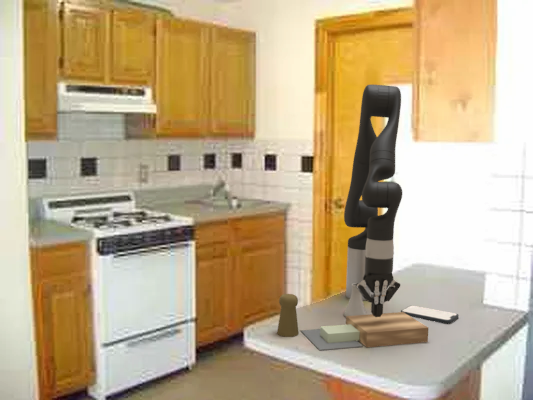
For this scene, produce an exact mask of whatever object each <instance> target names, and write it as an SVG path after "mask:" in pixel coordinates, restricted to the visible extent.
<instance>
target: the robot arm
mask: <svg viewBox="0 0 533 400" xmlns="http://www.w3.org/2000/svg"><path fill="white" fill-rule="evenodd" d="M401 104H402V92H401V89H400V88H399V87H397V86H393V85H384V84H383V85H382V84H367V85H365V88H364V89H363V92H362V97H361V106H360V114H359V115H360V117H359V126H358V127H359V128H358V133H357V134H358V135H357V140H356V146H355V150H354V156H353V164H352V171H351V179H350V185H349V189H348V193H347V198H346V201H345V207H344V213H343V220H344V224H345V225H346V226H347V227H349V228H358V229H359V228H360V229H361V228H364V229H363V231H362V232H360V233H358V234H356V235H353V236H350V237H349V238H348V240H347V255H346V257H347V259H346V266H347V267H346V284H345V286H346V287H345V288H346V291H345V296H346V298H349V299H350V298H351V294H352V284H353V283H357V284H356V287H357V289H358V290H359V292H360V293H361V296H362V300H363V301H367V302H368V303H371V305H370V307H371V308H370V310H371V311H370V313H371V314H373V316H375V317H381V315H382V313H384V304H385V303H386V302H390V301H391V299H392V298H393V297H394V295H395V294H396V293H397V291H398V290H399V289H400V288H401V283H400V282H398V281H396V280H394V276H393V272H394V271H393V270H394V255H395V251H394V250H395V246H394V245H395V243H394V235H395V234H394V232H395V231H394V230H395V220H396V217H397V213H398V210H399V207H400V204H401V202H402V198H403V189H402V187H401V185H400V184H399V183H397V182H395V181H393V182H392V181H386V180H388V179H390V178H393V176H395V173H396V144H397V139H398V138H397V137H398V131H399V126H400V125H399V124H400V118H401V117H400V115H401V106H402V105H401ZM372 117H377V118H387V119H388V120H387V122H386V124H385V126H384V128H383V129H382V131H381V132H379V134H378V136H377V134H376V131H375V130H374V126H373V124H372ZM384 180H385V181H384ZM379 208H380V209H387V210H386V212H385V213H383V214H381V215H379Z"/></svg>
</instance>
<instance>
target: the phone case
mask: <svg viewBox="0 0 533 400" xmlns="http://www.w3.org/2000/svg"><path fill="white" fill-rule="evenodd" d="M400 312H404V313H406V314H407V315H409V316H410V317H411V316H412V318H417V319H420V318H421V319H422V320H426V321H429V320H430V321H431V322H434V321H435V322H434V323H438V324H439V323H440V324H444V325H450V324H453V323H454V322H455V321H457V320H458V319H459V314H458V313H454V312H449V311H446V310H445V311H444V310H438V309H433V308H428V307H422V306H417V305H409V306H407V307H405V308H403V309H401V310H400Z"/></svg>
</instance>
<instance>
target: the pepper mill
mask: <svg viewBox="0 0 533 400" xmlns="http://www.w3.org/2000/svg"><path fill="white" fill-rule="evenodd" d="M278 303H279V305H280V312H279V318H278V325H277V335H278V336H280V337H285V338H293V337H297V336H298V335H299V333H300V332H299V323H298V314H297V306H298V303H299V299H298V296H297V295H296V294H293V293H283V294H282V295H280V296H279V299H278Z"/></svg>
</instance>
